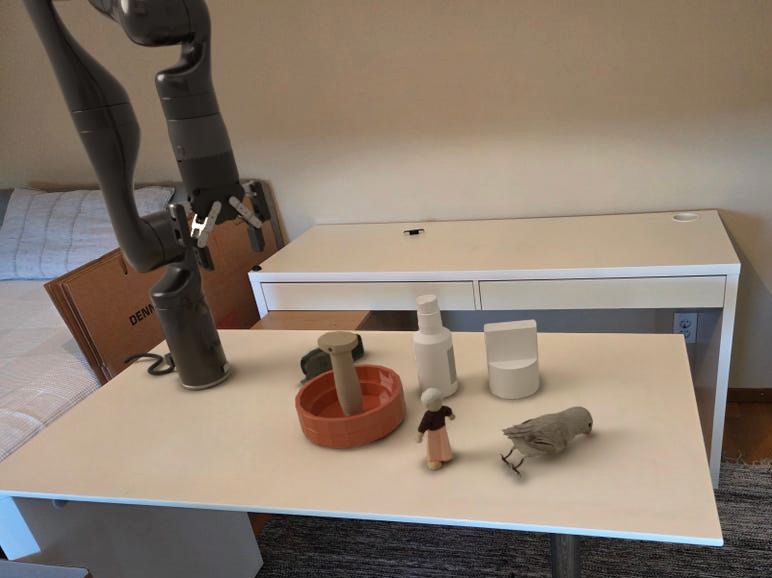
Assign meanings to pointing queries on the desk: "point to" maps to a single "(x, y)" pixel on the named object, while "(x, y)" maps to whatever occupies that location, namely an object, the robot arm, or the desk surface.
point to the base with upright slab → (512, 358)
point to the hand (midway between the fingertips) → (234, 260)
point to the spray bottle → (434, 349)
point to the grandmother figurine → (435, 428)
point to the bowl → (337, 431)
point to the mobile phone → (324, 361)
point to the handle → (344, 369)
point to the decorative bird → (548, 433)
